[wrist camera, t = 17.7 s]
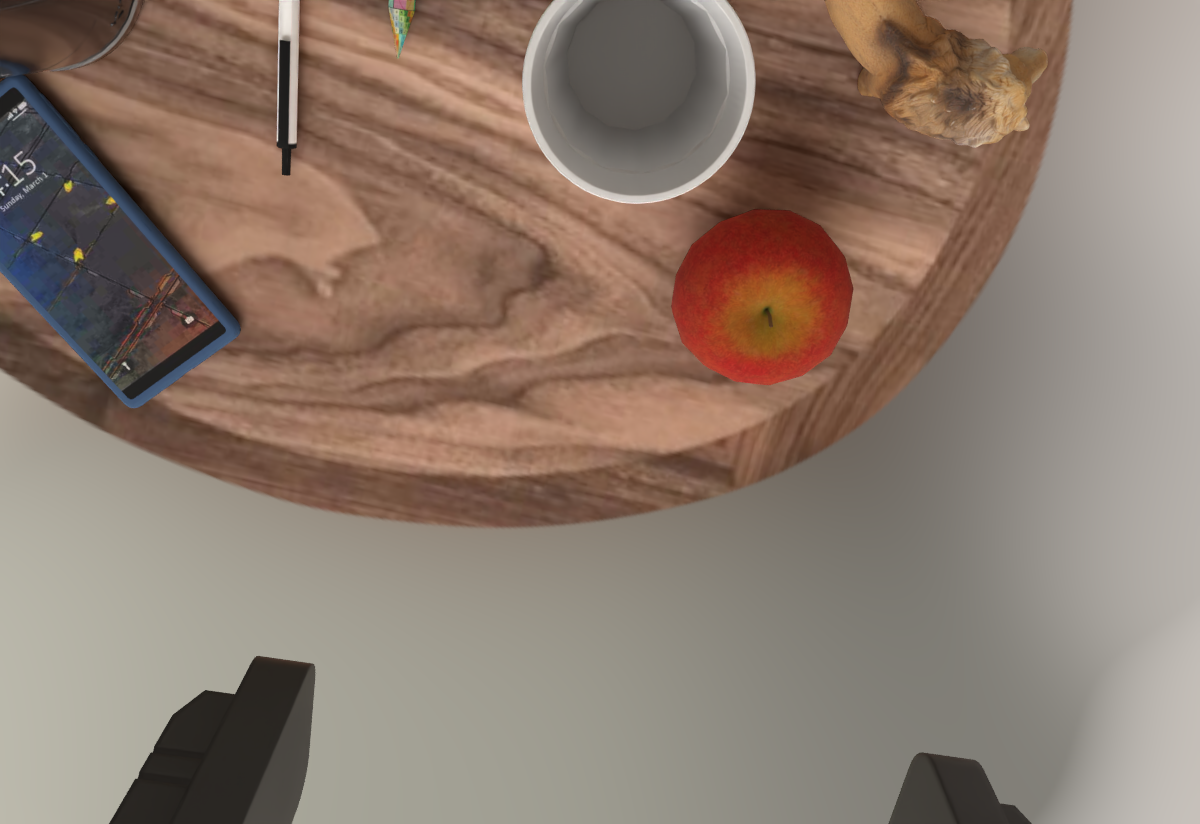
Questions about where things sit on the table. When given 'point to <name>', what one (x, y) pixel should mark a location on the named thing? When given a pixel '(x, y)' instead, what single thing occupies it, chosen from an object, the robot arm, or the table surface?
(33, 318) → the table surface
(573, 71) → the cup
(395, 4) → the pencil
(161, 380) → the smartphone
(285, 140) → the pen
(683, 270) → the apple
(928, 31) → the lion figurine
